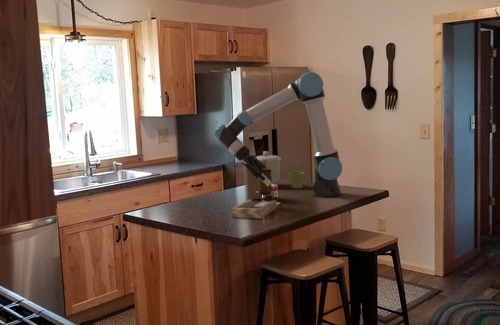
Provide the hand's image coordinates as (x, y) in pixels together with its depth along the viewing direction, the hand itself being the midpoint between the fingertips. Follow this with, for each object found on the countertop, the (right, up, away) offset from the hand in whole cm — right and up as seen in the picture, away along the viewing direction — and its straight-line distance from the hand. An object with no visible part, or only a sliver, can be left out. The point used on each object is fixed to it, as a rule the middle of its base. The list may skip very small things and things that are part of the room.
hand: (272, 183), depth 253 cm
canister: (0, -4, +59) cm, 59 cm away
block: (-6, -9, +24) cm, 27 cm away
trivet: (-2, -11, +4) cm, 12 cm away
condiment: (-3, -5, +2) cm, 6 cm away
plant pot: (+17, -5, +48) cm, 51 cm away
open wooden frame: (-8, -13, -11) cm, 19 cm away
